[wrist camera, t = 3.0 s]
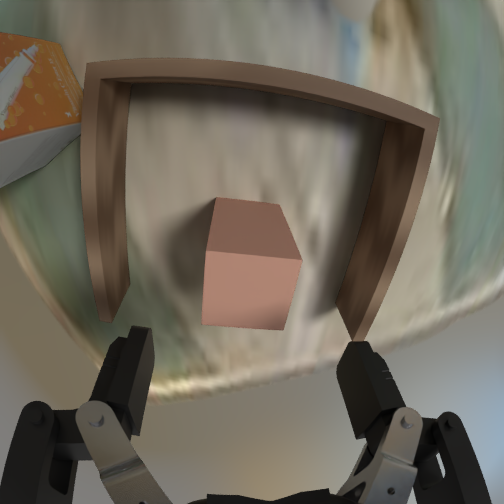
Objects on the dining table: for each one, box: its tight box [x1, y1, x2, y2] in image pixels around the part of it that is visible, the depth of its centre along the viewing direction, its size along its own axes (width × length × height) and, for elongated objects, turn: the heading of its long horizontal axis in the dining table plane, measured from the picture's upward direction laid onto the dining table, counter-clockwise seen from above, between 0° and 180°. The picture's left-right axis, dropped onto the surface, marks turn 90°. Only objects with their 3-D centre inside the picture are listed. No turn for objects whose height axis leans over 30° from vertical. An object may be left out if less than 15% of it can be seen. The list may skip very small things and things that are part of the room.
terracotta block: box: [201, 197, 302, 330], centre depth 18 cm, size 4×4×8 cm
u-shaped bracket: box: [80, 58, 440, 341], centre depth 18 cm, size 17×20×5 cm
